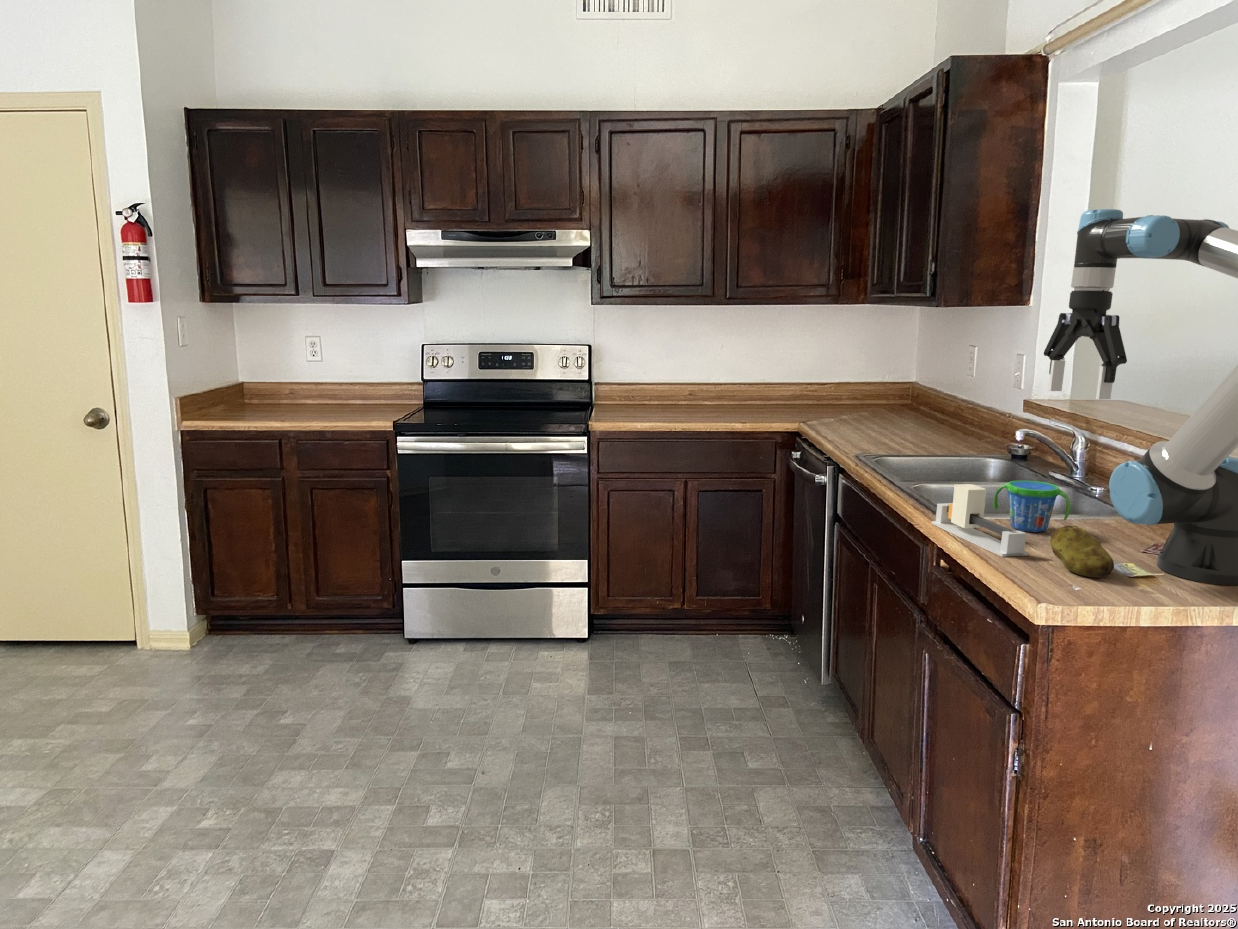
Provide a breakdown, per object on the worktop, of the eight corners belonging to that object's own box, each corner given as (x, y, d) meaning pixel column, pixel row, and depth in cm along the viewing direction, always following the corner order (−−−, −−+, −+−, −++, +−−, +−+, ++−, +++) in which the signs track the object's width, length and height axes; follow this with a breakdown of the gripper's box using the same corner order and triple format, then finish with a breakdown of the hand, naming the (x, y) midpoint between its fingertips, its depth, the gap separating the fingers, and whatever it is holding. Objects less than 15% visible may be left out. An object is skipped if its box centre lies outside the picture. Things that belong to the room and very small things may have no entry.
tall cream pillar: (982, 527, 186) (986, 489, 185) (964, 528, 185) (968, 489, 184) (968, 521, 191) (972, 484, 190) (950, 522, 190) (954, 484, 189)
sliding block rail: (1027, 555, 174) (1031, 528, 173) (1001, 556, 172) (1005, 530, 171) (954, 522, 198) (957, 499, 196) (931, 523, 196) (933, 499, 195)
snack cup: (984, 526, 195) (989, 482, 193) (1001, 518, 203) (1006, 476, 201) (1057, 540, 185) (1063, 494, 183) (1072, 531, 192) (1078, 487, 190)
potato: (1071, 581, 159) (1076, 539, 157) (1041, 559, 171) (1046, 521, 170) (1117, 583, 158) (1123, 541, 157) (1084, 561, 171) (1089, 522, 169)
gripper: (1158, 290, 161) (1141, 402, 166) (1063, 289, 185) (1051, 387, 190) (1124, 289, 160) (1108, 402, 164) (1033, 289, 184) (1021, 387, 188)
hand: (1078, 395), depth 177 cm, fingers open, 13 cm apart
